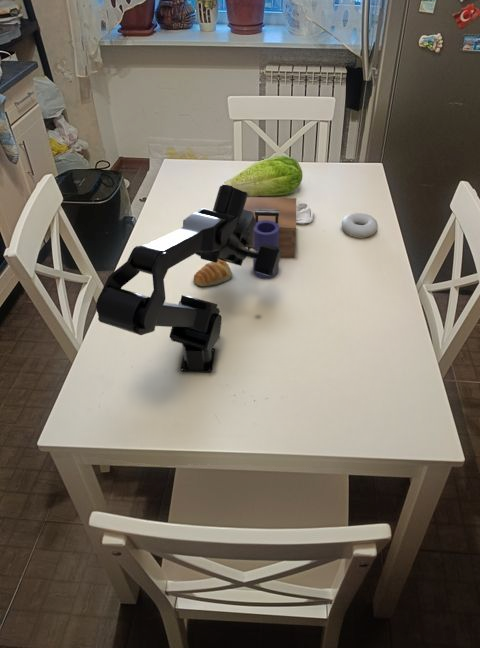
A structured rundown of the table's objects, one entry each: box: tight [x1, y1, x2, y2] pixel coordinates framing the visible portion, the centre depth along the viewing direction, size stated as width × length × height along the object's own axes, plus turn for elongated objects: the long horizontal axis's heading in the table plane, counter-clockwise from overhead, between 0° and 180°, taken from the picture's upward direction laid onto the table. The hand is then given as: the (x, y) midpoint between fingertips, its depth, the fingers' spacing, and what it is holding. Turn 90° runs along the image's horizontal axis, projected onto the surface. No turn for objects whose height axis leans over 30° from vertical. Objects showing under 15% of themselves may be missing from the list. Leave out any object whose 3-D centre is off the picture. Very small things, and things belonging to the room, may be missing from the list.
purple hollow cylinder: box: [252, 220, 279, 280], centre depth 124 cm, size 6×6×13 cm
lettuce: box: [223, 155, 303, 197], centre depth 155 cm, size 12×24×13 cm
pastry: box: [193, 259, 233, 288], centre depth 125 cm, size 9×7×4 cm
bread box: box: [248, 229, 297, 259], centre depth 135 cm, size 14×15×9 cm
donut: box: [341, 212, 379, 239], centre depth 142 cm, size 10×4×10 cm
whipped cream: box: [296, 201, 314, 225], centre depth 146 cm, size 8×7×5 cm
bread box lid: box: [244, 196, 297, 231], centre depth 130 cm, size 15×15×4 cm
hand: (249, 259), depth 117 cm, fingers open, 9 cm apart
